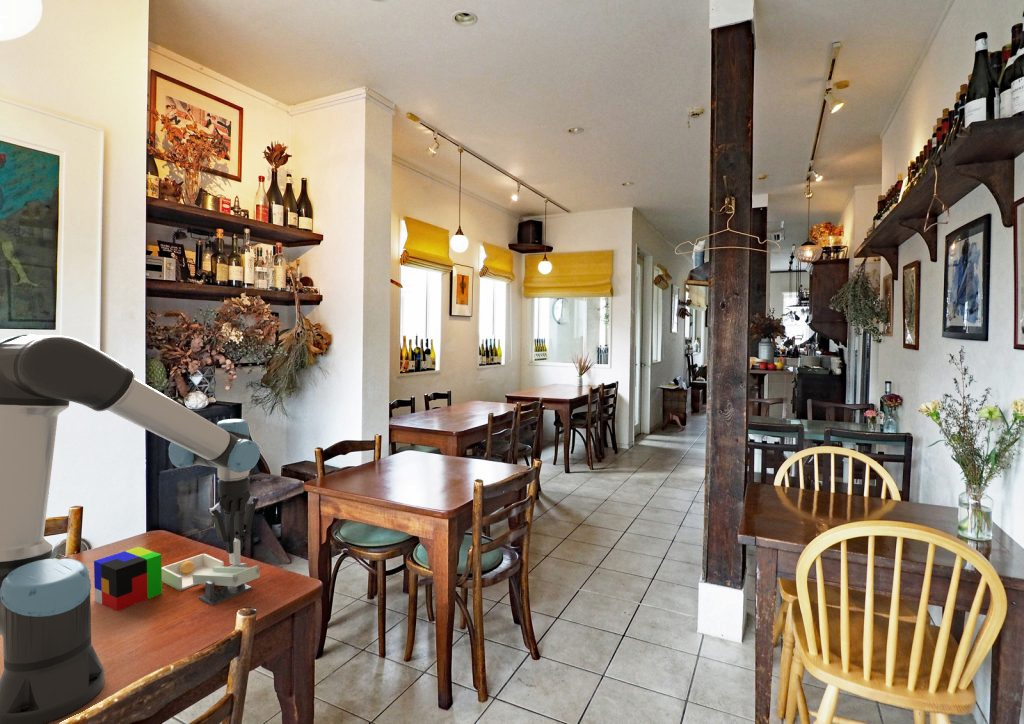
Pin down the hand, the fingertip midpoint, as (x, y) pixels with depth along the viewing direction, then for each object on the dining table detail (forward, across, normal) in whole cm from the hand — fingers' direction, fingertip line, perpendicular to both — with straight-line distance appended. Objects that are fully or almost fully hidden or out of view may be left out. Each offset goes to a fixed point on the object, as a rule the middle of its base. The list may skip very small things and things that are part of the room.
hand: (234, 563), depth 143 cm
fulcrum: (+3, -7, -8) cm, 11 cm away
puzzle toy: (+4, -21, +10) cm, 24 cm away
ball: (+1, -7, +10) cm, 13 cm away
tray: (+3, -7, +8) cm, 11 cm away
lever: (0, -4, -8) cm, 9 cm away
